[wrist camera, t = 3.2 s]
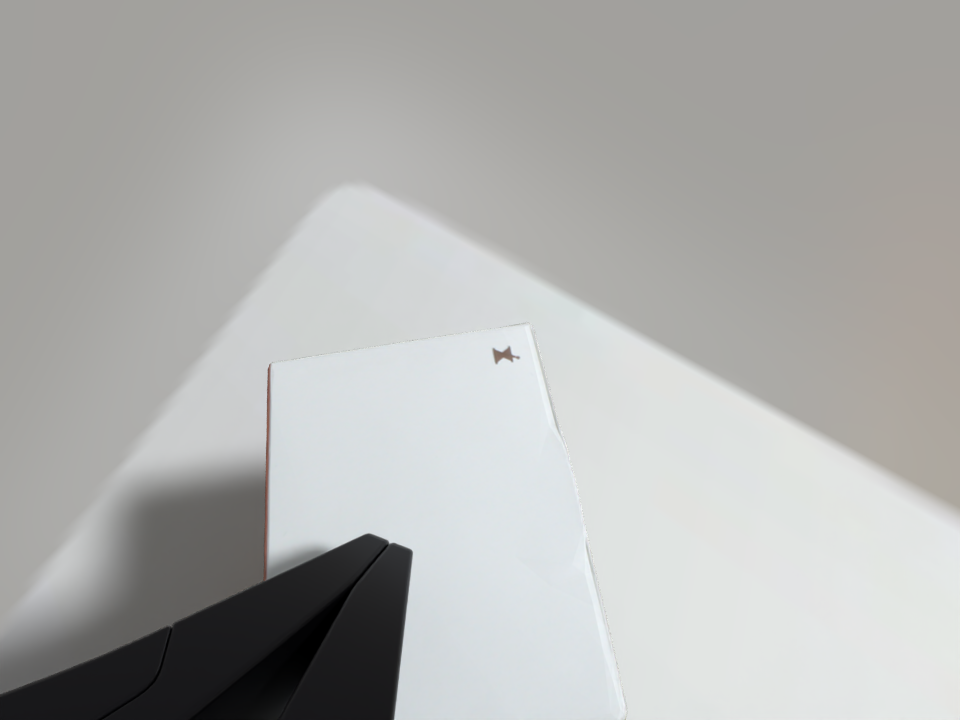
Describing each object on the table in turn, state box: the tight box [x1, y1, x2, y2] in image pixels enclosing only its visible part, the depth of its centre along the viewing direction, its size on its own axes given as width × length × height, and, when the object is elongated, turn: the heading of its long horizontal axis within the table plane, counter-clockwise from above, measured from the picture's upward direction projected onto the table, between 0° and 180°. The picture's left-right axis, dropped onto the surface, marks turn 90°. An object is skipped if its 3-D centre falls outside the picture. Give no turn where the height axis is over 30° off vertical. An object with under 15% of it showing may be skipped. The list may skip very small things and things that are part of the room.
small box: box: [263, 322, 627, 720], centre depth 16 cm, size 8×6×13 cm
